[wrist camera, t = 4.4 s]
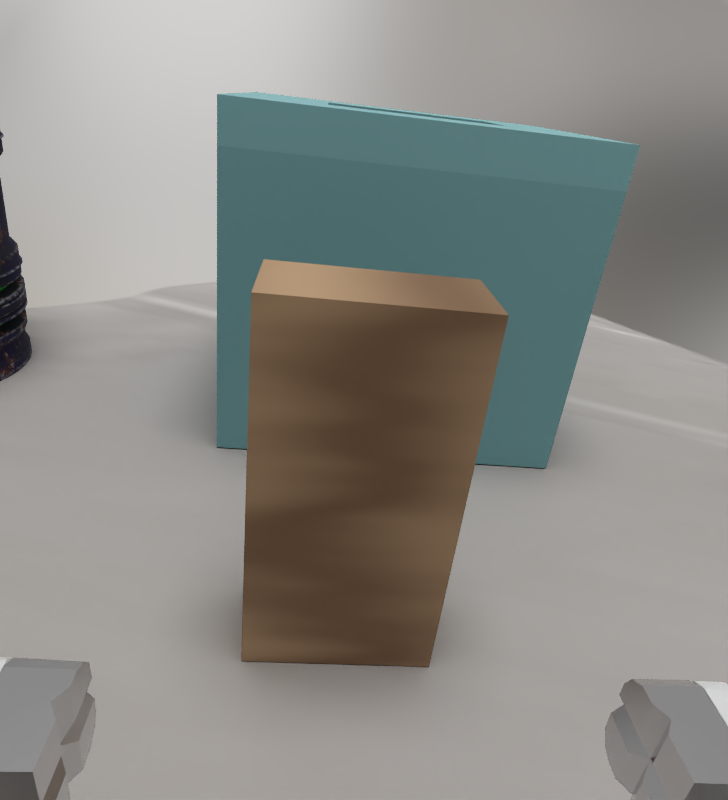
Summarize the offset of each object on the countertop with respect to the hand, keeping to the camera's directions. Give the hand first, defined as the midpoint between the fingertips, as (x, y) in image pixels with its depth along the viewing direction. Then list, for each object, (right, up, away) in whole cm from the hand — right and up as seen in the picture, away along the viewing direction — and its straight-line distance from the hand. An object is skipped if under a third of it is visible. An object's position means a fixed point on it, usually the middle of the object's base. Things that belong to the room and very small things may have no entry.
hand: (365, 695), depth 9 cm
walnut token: (-1, -2, +8) cm, 8 cm away
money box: (+1, +5, +22) cm, 22 cm away
